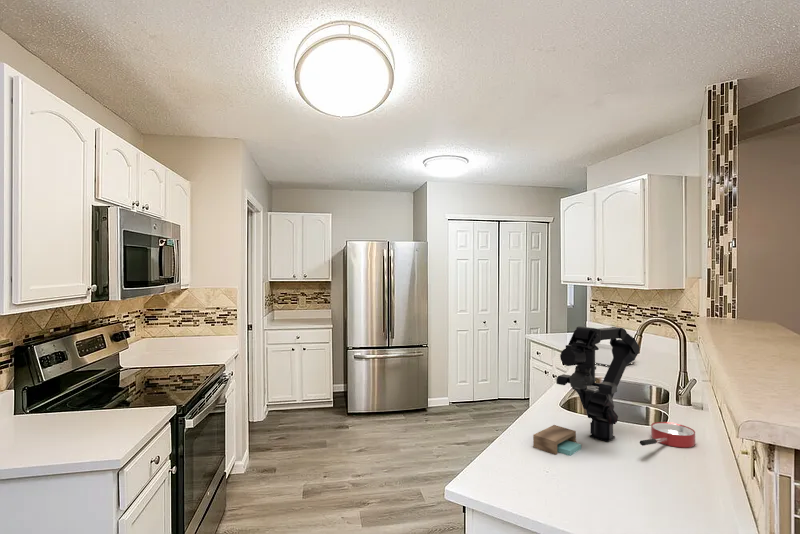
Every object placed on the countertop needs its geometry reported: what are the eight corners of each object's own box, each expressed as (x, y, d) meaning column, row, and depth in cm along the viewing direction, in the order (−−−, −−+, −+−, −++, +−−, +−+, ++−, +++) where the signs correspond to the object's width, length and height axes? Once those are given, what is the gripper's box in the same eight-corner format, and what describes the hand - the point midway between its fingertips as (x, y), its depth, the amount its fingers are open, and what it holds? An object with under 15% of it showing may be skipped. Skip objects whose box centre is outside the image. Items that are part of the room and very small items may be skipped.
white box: (645, 365, 274) (645, 342, 274) (623, 371, 257) (623, 346, 257) (594, 356, 301) (594, 335, 301) (571, 361, 284) (571, 339, 284)
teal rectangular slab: (581, 450, 143) (581, 444, 143) (570, 457, 138) (570, 451, 138) (552, 441, 150) (552, 435, 150) (541, 448, 145) (541, 442, 145)
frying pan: (675, 470, 128) (675, 449, 128) (628, 457, 137) (628, 437, 137) (699, 441, 150) (699, 422, 150) (657, 431, 159) (657, 414, 160)
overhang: (575, 443, 148) (575, 430, 148) (555, 454, 138) (555, 441, 138) (554, 436, 154) (554, 424, 154) (533, 447, 144) (533, 434, 144)
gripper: (549, 362, 149) (548, 407, 149) (605, 371, 136) (605, 420, 135) (563, 358, 157) (562, 401, 157) (617, 366, 144) (617, 413, 143)
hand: (585, 408), depth 148 cm, fingers closed
